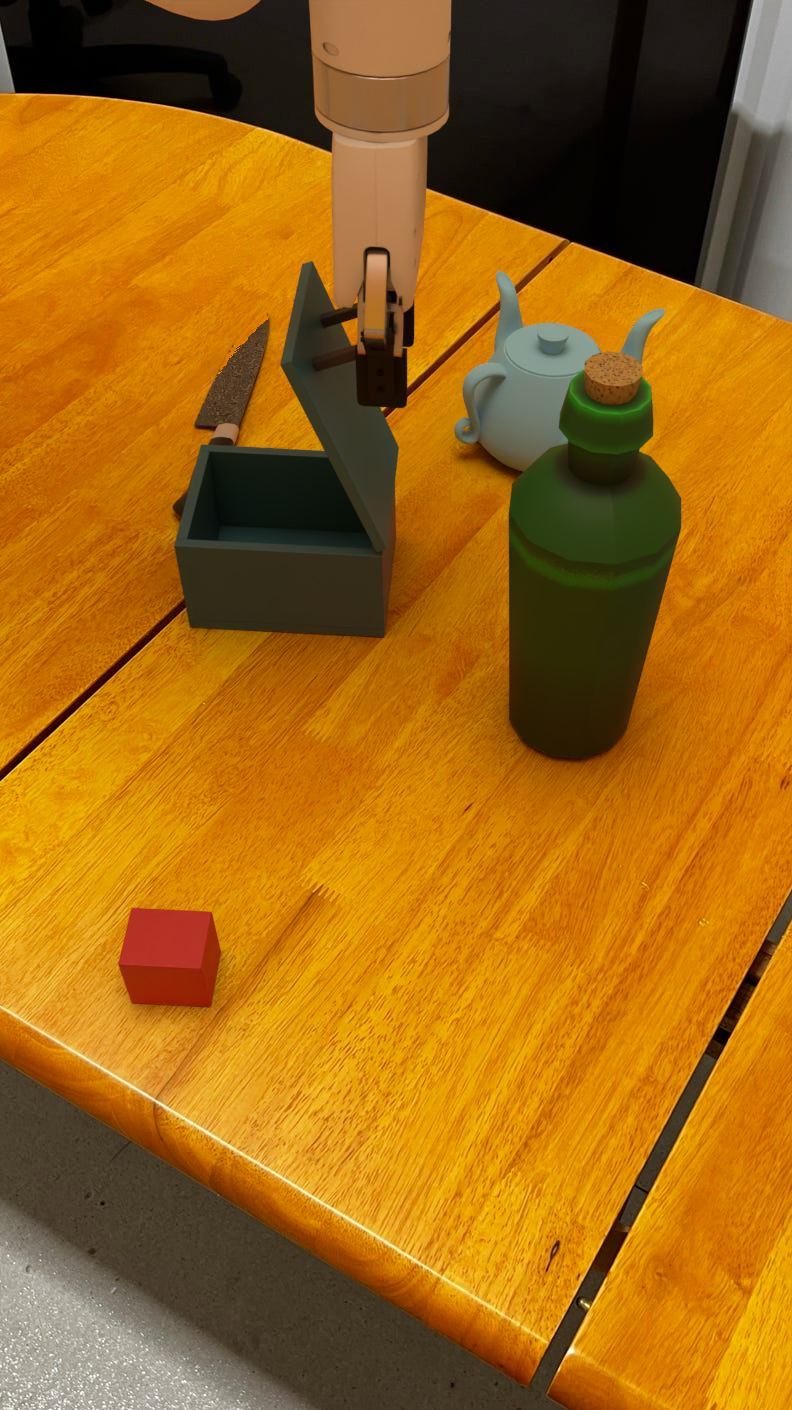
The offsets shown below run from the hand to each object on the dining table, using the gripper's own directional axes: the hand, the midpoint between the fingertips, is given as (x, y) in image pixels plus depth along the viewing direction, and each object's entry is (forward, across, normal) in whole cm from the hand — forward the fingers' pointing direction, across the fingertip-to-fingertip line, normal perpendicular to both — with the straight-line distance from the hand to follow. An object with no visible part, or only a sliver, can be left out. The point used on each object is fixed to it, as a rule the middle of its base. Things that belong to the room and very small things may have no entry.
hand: (386, 371), depth 87 cm
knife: (+19, -21, -16) cm, 32 cm away
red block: (+19, +36, -10) cm, 42 cm away
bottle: (+19, +13, +14) cm, 27 cm away
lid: (+3, 0, -3) cm, 5 cm away
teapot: (+19, -20, +13) cm, 30 cm away
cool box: (+19, 0, -7) cm, 20 cm away
